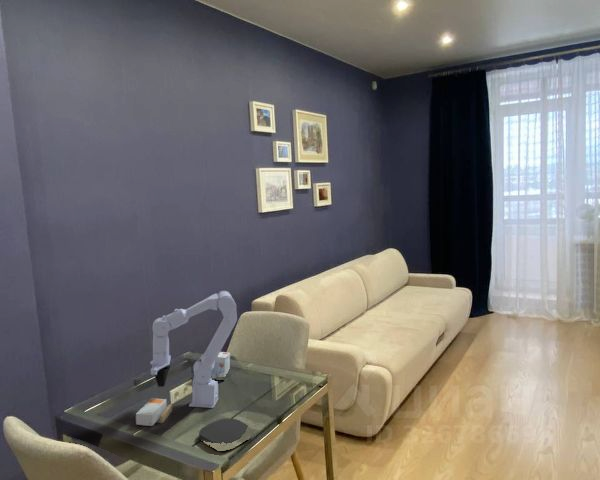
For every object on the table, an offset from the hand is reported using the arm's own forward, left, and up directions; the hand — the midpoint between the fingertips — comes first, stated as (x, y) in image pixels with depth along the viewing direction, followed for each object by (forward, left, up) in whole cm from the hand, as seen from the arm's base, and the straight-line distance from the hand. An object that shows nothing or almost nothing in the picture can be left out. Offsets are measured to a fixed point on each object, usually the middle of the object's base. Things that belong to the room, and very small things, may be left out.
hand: (161, 385), depth 165 cm
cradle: (0, +7, -8) cm, 11 cm away
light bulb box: (-13, -29, -9) cm, 33 cm away
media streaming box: (-29, +18, -9) cm, 35 cm away
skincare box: (0, +2, -6) cm, 6 cm away
